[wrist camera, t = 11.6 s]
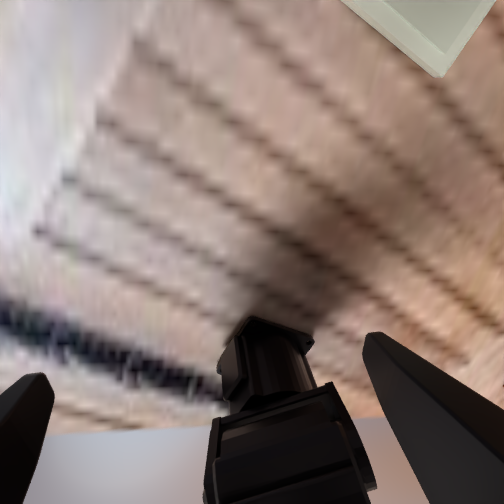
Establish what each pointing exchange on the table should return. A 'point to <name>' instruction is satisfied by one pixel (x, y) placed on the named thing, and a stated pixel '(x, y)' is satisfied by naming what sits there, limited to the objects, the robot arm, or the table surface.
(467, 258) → the table surface
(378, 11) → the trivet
